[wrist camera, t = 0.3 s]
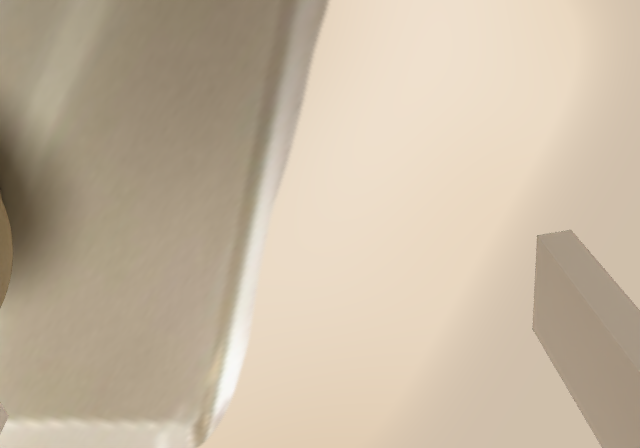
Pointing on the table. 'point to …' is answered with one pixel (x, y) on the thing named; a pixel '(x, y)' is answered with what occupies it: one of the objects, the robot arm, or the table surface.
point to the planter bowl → (5, 251)
